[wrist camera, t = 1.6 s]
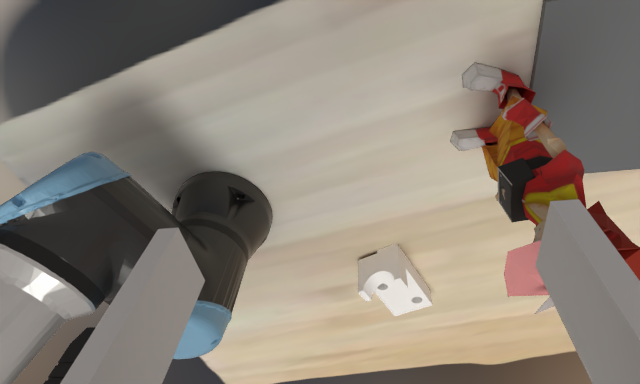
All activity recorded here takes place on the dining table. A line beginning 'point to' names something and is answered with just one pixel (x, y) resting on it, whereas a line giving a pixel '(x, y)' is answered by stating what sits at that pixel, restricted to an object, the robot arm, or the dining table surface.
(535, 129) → the toy
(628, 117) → the mat
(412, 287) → the bracket
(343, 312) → the dining table surface
